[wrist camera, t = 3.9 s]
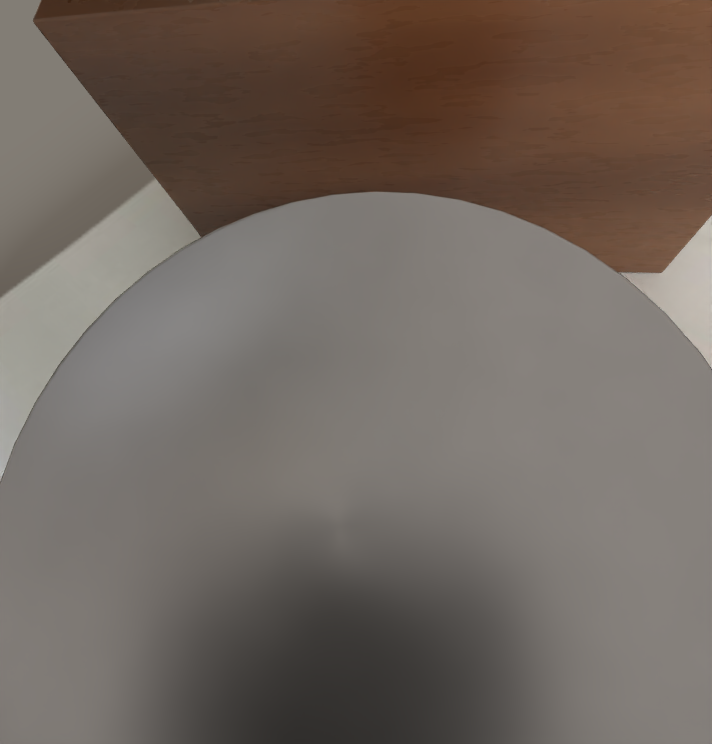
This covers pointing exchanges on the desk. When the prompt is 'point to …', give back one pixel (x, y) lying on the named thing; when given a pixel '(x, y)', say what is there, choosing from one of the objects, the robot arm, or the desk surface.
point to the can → (365, 496)
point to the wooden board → (415, 106)
